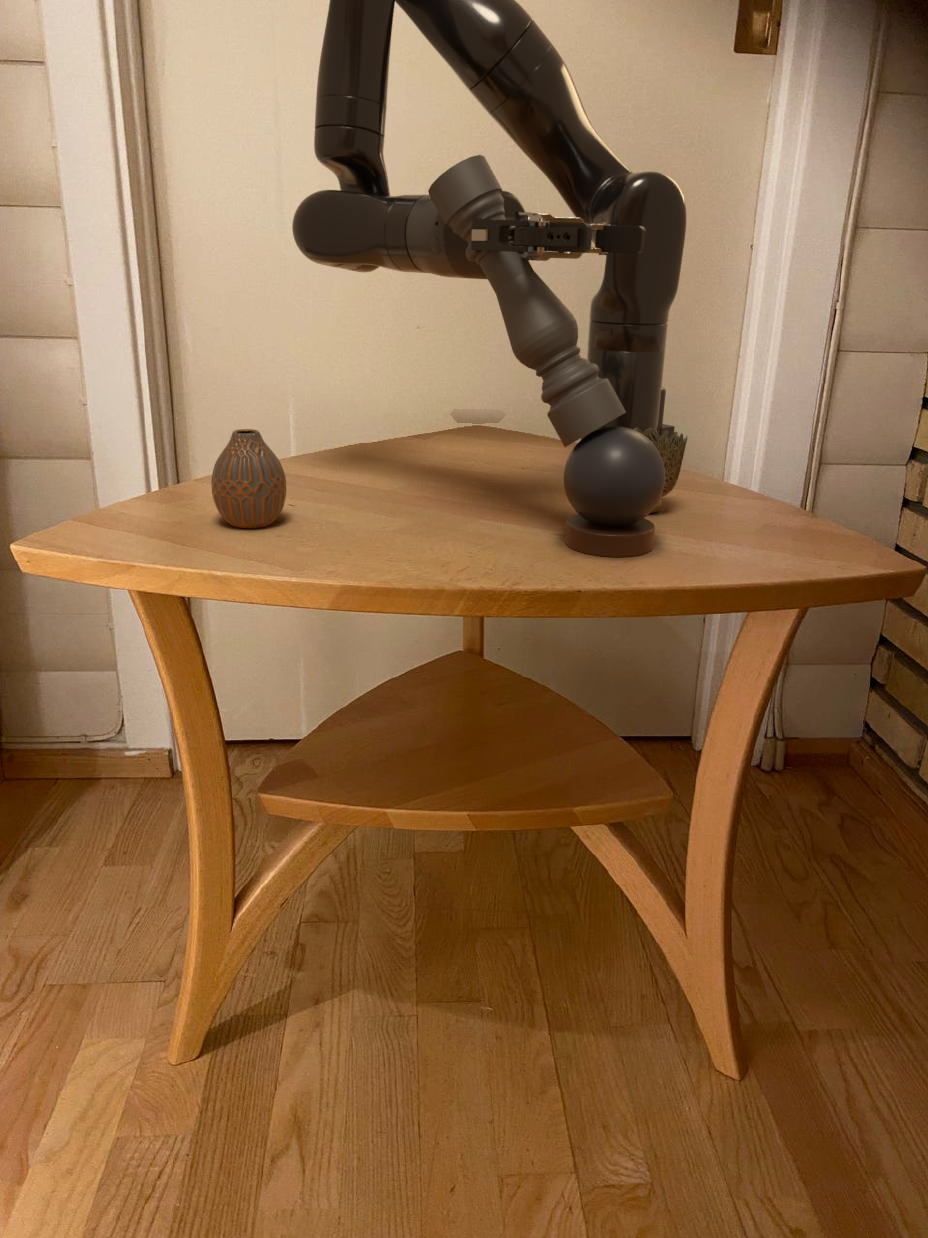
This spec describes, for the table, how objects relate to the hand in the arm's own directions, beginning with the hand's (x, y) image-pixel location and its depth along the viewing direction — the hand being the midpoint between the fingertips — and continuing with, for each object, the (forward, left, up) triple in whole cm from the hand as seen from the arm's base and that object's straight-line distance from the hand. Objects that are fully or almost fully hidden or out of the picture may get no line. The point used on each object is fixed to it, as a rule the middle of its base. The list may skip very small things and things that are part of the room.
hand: (617, 238), depth 80 cm
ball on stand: (0, +2, -26) cm, 26 cm away
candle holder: (0, 0, -16) cm, 16 cm away
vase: (+23, -23, -26) cm, 42 cm away
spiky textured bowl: (-12, -4, -26) cm, 29 cm away
